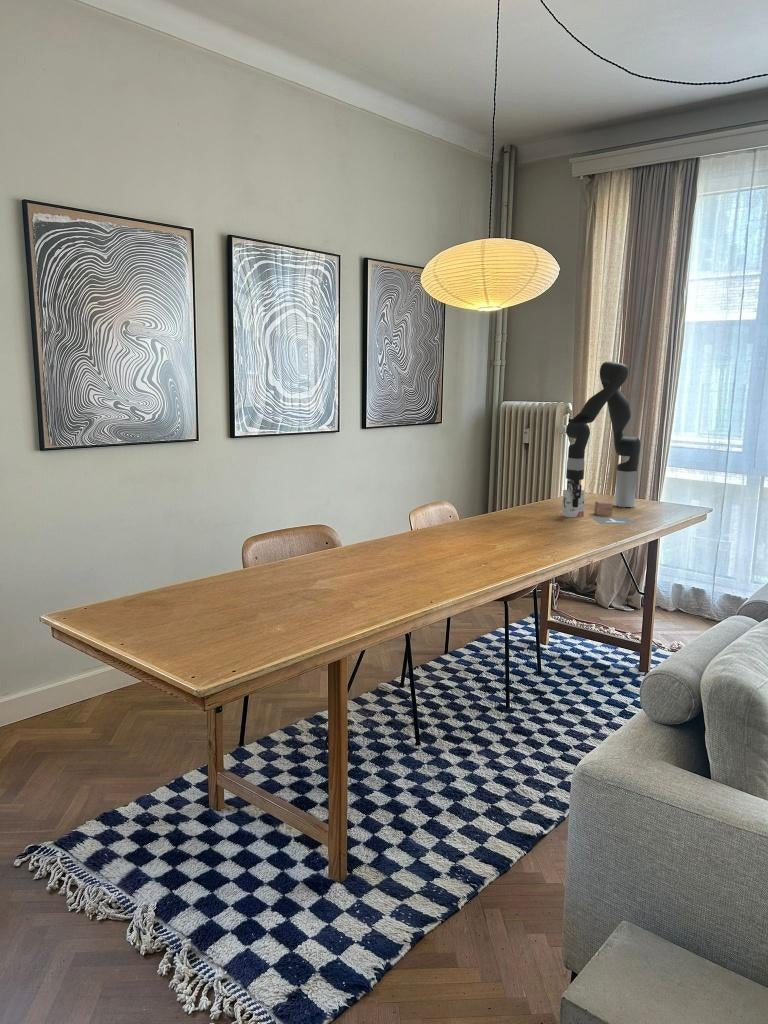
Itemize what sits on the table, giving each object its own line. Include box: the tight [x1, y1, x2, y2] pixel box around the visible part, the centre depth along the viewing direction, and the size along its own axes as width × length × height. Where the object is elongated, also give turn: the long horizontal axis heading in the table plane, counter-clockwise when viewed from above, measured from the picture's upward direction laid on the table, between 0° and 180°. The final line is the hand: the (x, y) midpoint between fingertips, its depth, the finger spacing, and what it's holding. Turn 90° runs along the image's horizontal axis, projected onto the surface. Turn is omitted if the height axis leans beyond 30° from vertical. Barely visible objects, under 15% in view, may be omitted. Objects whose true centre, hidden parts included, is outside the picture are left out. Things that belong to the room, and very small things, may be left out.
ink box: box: [561, 489, 586, 518], centre depth 339 cm, size 9×5×12 cm, turn 115°
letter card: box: [589, 516, 638, 525], centre depth 331 cm, size 16×16×1 cm
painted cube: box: [593, 500, 614, 517], centre depth 345 cm, size 6×6×6 cm
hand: (573, 505), depth 340 cm, fingers closed on ink box, 6 cm apart
